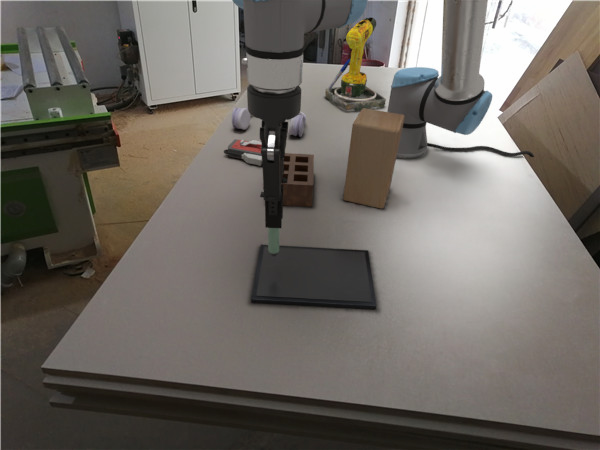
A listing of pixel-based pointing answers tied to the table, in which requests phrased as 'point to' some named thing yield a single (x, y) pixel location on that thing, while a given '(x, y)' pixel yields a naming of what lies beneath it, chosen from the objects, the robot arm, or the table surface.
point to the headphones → (243, 120)
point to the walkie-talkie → (246, 151)
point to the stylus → (273, 241)
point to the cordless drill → (355, 73)
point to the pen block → (298, 179)
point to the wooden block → (372, 157)
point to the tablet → (314, 277)
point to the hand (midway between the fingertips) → (274, 221)
